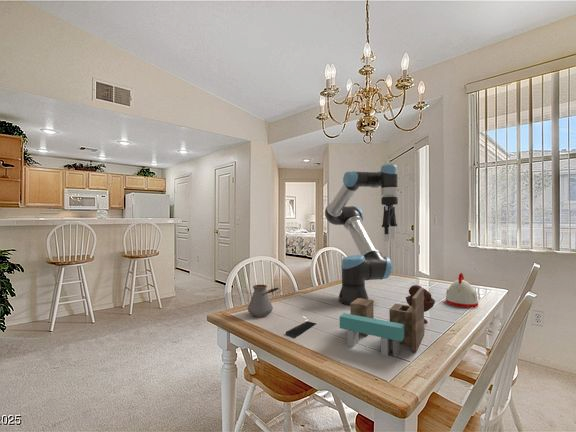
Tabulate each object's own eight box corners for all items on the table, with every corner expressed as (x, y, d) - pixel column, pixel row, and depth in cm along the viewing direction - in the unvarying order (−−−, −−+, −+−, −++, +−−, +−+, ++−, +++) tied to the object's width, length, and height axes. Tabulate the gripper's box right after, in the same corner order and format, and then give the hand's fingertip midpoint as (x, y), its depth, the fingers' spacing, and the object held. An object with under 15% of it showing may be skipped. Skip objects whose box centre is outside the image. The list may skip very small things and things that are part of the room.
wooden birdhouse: (386, 349, 95) (386, 294, 95) (398, 332, 108) (397, 284, 108) (416, 356, 90) (415, 298, 90) (424, 338, 103) (423, 287, 103)
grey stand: (347, 348, 96) (347, 330, 96) (353, 343, 100) (352, 325, 100) (387, 358, 89) (387, 339, 89) (391, 352, 93) (391, 333, 93)
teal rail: (339, 343, 98) (339, 316, 98) (344, 338, 101) (344, 312, 101) (401, 358, 87) (401, 328, 87) (404, 352, 90) (404, 323, 90)
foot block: (350, 335, 106) (350, 303, 106) (358, 328, 113) (358, 297, 113) (366, 339, 103) (366, 305, 103) (373, 331, 109) (373, 300, 110)
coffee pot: (243, 313, 132) (242, 280, 133) (264, 308, 139) (264, 277, 139) (266, 327, 115) (266, 290, 115) (290, 321, 121) (290, 285, 122)
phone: (323, 325, 115) (300, 337, 103) (323, 328, 115) (300, 340, 103) (307, 321, 120) (284, 332, 108) (307, 323, 120) (284, 335, 108)
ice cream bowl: (423, 328, 112) (423, 289, 112) (400, 319, 122) (400, 284, 122) (441, 323, 117) (440, 286, 117) (417, 315, 127) (417, 281, 127)
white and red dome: (442, 303, 144) (442, 273, 144) (449, 298, 154) (449, 269, 154) (475, 309, 134) (475, 277, 134) (480, 302, 145) (480, 273, 145)
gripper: (392, 194, 128) (393, 242, 128) (401, 197, 149) (402, 238, 149) (375, 195, 132) (375, 241, 132) (386, 198, 153) (387, 238, 153)
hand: (390, 240), depth 140 cm, fingers open, 13 cm apart
